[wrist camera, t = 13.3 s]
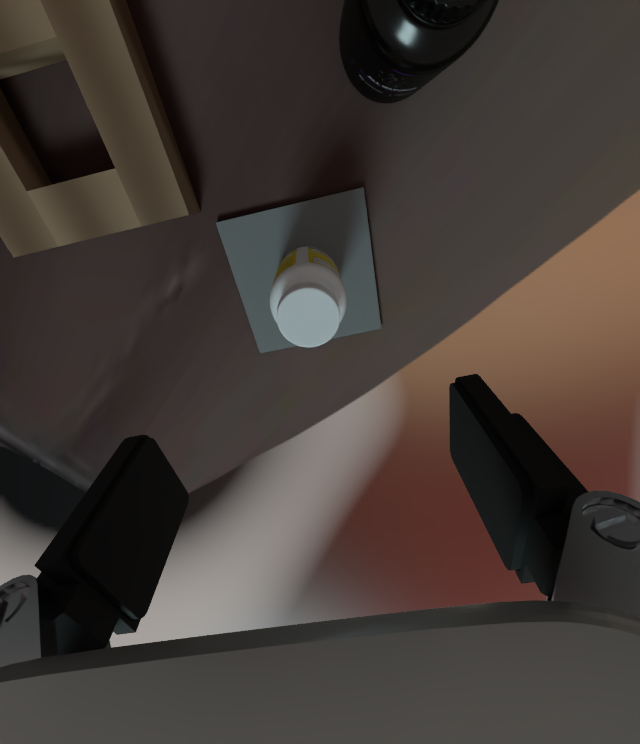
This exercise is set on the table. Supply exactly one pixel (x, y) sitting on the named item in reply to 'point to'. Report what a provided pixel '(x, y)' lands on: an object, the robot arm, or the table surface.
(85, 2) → the holder
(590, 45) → the table surface
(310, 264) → the supplement bottle
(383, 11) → the supplement bottle
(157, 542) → the robot arm
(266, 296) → the mat
